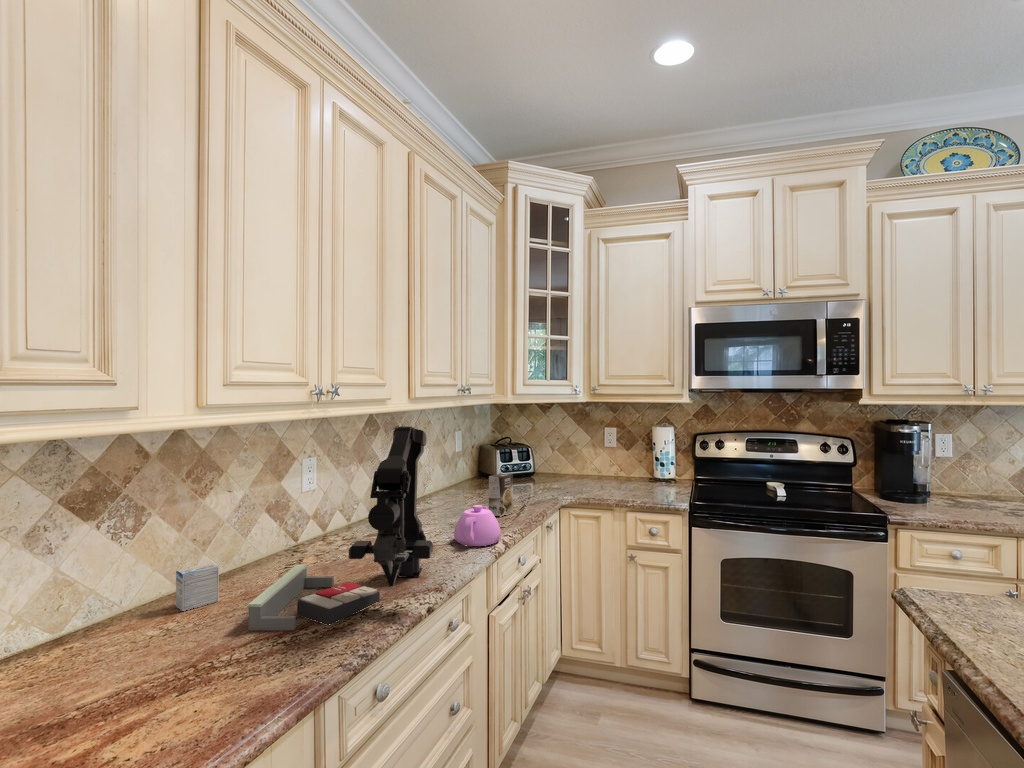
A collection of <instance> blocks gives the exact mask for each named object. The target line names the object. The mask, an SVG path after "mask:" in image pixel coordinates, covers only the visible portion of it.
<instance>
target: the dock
mask: <svg viewBox="0 0 1024 768" xmlns="http://www.w3.org/2000/svg"><path fill="white" fill-rule="evenodd" d="M307 571H308V565H307V564H296V565H294V567H292V568H291V569H289V570H288V571H287V572H286V573H284V574H283V575H282V576H281V577H280V578H279V579H277V580H276V581H275V582H274V583H272V584H271V585H269V587H268V588H267V589H265V590H264V591H262V593H260V594H259V595H258V596H256V597H255V598H254V599H253V600H251V601H250V602H249V603H248V604H247V606H248V623H247V624H248V631H295V630H296V628H297V615H278V614H279V613H280V612H281V611H283V609H284V608H285V607H287V605H289V604H290V603H291V602H292V601H293V600H294V597H295V598H296V597H297V596H298V595H299V594H300V593H301V592H302V591H303V590H304V589H307V588H308V589H309V588H310V589H313V588H314V587H315V589H317V588H318V589H319V587H320V589H322V588H321V587H335V584H334V583H335V577H334V576H333V575H332V576H331V575H329V576H328V575H323V576H322V575H317V576H316V575H315V576H309V575H308V574H307ZM307 575H308V576H307ZM292 599H293V600H292ZM291 600H292V601H291ZM290 601H291V602H290Z"/></svg>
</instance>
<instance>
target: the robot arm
mask: <svg viewBox="0 0 1024 768" xmlns="http://www.w3.org/2000/svg"><path fill="white" fill-rule="evenodd" d="M426 445H427V434H426V432H425V431H424V430H423V429H418V428H416V427H413V426H411V425H410V426H397V427H395V428H394V430H393V433H392V443H391V446H390V448H389V449H390V450H389V453H388V456H387V458H386V459H384V460H382V461H380V462H379V465H378V466H377V468H376V470H375V471H374V474H373V479H372V484H371V485H372V486H371V489H370V495H369V496H370V499H376V504H375V505H373V507H371V509H370V510H369V512H368V516H367V519H368V523H369V525H370V527H372V528H373V529H374V530H376V531H377V535H376V538H375V541H374V544H373V543H372V541H371V540H355V542H354V543H353V544H351V546H350V547H349V549H348V559H349V560H362V559H363V558H364V557H365V556H366V555H367V554H371V555H373V562H374V563H378V564H379V565H380V566H381V568H382V571H383V573H384V576H385V579H386V580H387V584H388V586H389V587H390V588H391V587H392V588H393V587H394V585H395V582H396V579H397V578H398V577H397V576H419V575H420V576H421V574H422V572H423V570H422V569H423V568H422V567H420V562H421V560H425V559H426V560H427V559H430V558H431V556H432V554H433V551H434V544H433V543H434V542H433V541H432V540H427V536H426V534H425V531H424V530H423V523H422V522H421V520H420V518H419V517H418V515H417V507H418V506H417V502H418V471H419V470H418V467H419V466H418V465H419V463H418V462H419V460H420V458H421V457H422V455H423V454H424V451H425V446H426ZM420 559H421V560H420ZM421 571H422V572H421ZM420 573H421V574H420ZM420 576H419V577H420Z"/></svg>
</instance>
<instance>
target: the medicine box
mask: <svg viewBox="0 0 1024 768" xmlns="http://www.w3.org/2000/svg"><path fill="white" fill-rule="evenodd" d="M219 570H220V567H219V566H218V565H216V564H214V563H212V562H208V563H204V564H199V565H196V566H195V565H194V566H191V567H187V568H182V569H179V570H176V572H175V607H176V608H177V609H178V608H179V609H180V611H181V612H182V611H184V612H187V611H186V610H188V611H191V610H193V608H194V609H197V607H198V608H201V607H204V606H207V604H208V605H211V604H215V603H217V602H219V599H220V597H219V596H220V595H219V586H220V585H219V582H220V581H219V579H220V578H219V577H220V575H219V573H220V571H219ZM179 609H178V610H179ZM190 609H191V610H190Z"/></svg>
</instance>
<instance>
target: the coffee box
mask: <svg viewBox="0 0 1024 768" xmlns="http://www.w3.org/2000/svg"><path fill="white" fill-rule="evenodd" d="M488 510H490V511H491V512H492V513H493V514H494V515H498V516H502V515H505V514H508V513H510V512H513V513H514V474H511V473H497V474H492V475H489V476H488Z"/></svg>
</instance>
